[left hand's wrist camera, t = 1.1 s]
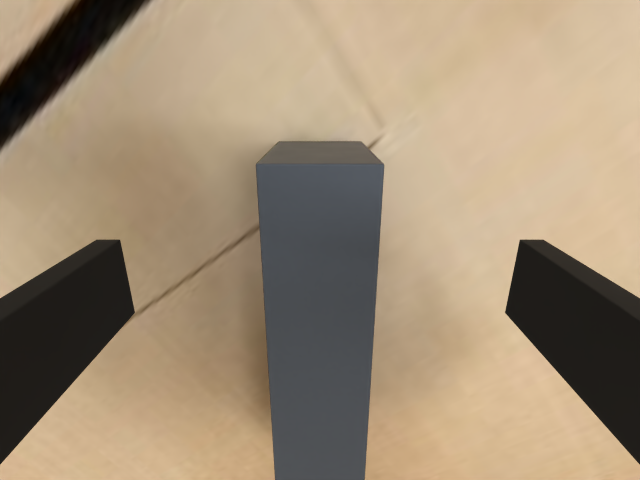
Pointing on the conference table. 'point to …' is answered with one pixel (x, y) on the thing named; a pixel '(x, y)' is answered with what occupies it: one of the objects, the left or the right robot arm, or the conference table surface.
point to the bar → (319, 302)
